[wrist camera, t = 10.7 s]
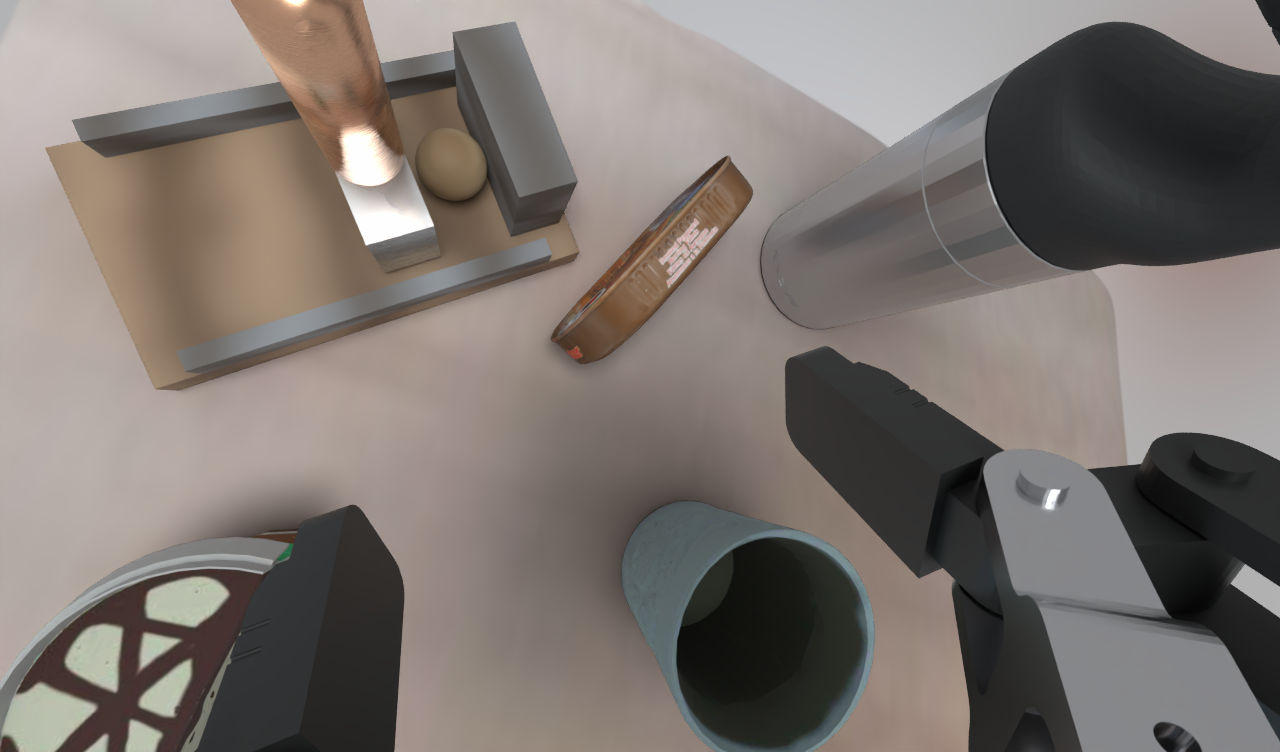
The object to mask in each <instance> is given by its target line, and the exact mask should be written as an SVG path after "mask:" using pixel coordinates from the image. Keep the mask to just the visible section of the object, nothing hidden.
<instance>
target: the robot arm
mask: <svg viewBox="0 0 1280 752" xmlns="http://www.w3.org/2000/svg"><path fill="white" fill-rule="evenodd" d="M1256 2H1257V4H1258V6H1259V8H1260V10H1261V12H1262V14H1263V16H1264V18H1265V19H1266V21H1267V23H1268V25H1269V26H1270V27H1272V32H1273V34H1274V36H1275V38H1276V39H1277V41H1278V43H1279V45H1280V0H1256ZM1279 248H1280V75H1279V76H1278V75H1270V74H1263V73H1257V72H1252V71H1246V70H1243V69H1239V68H1235V67H1232V66H1228V65H1225V64H1223V63H1220V62H1218V61H1215V60H1212V59H1210V58H1208V57H1205V56H1204V55H1201V54H1199V53H1197V52H1195V51H1193V50H1192V49H1190V48H1188V47H1186V46H1184V45H1182V44H1180V43H1178V42H1177V41H1175V40H1173V39H1171V38H1170V37H1168V36H1166V35H1164V34H1162V33H1160V32H1158V31H1156V30H1153V29H1151V28H1148V27H1145V26H1142V25H1138V24H1134V23H1128V22H1107V23H1101V24H1096V25H1092V26H1089V27H1087V28H1084V29H1081V30H1078V31H1076V32H1074V33H1072V34H1070V35H1068V36H1066V37H1065V38H1063V39H1061V40H1059V41H1057V42H1055V43H1054V44H1052V45H1051V46H1049V47H1048V48H1046V49H1045V50H1043V51H1041V52H1040V53H1038V54H1036V55H1035V56H1033V57H1032V58H1030V59H1028V60H1027V61H1025V62H1024V63H1022V64H1021V65H1019V66H1018V67H1016V68H1014V69H1013V70H1011V71H1009V72H1008V73H1006V74H1005V75H1003V76H1001V77H1000V78H998V79H997V80H995V81H993V82H992V83H990V84H989V85H987V86H986V87H984V88H982V89H981V90H979V91H978V92H976V93H974V94H973V95H971V96H970V97H968V98H966V99H965V100H963V101H962V102H960V103H959V104H957V105H955V106H954V107H953V108H951V109H950V110H948V111H946V112H945V113H943V114H942V115H940V116H938V117H937V118H935V119H934V120H932V121H931V122H929V123H928V124H926V125H924V126H923V127H921V128H919V129H918V130H916V131H915V132H913V133H911V134H910V135H908V136H907V137H905V138H903V139H902V140H901V141H899V142H897V143H896V144H894V145H892V146H891V147H889V148H888V149H886V150H884V151H883V152H881V153H880V154H878V155H876V156H875V157H873V158H872V159H870V160H868V161H867V162H865V163H864V164H862V165H861V166H859V167H857V168H856V169H854V170H853V171H851V172H849V173H848V174H846V175H845V176H843V177H841V178H840V179H838V180H837V181H835V182H833V183H832V184H830V185H829V186H827V187H826V188H824V189H822V190H821V191H819V192H817V193H816V194H814V195H812V196H811V197H809V198H808V199H806V200H805V201H803V202H802V203H800V204H798V205H797V206H795V207H794V208H792V209H791V210H789V211H788V212H786V213H784V214H783V215H781V216H780V217H779V218H778V219H777V220H776V221H775V222H774V223H773V224H772V226H771V228H770V230H769V231H768V233H767V235H766V238H765V241H764V244H763V247H762V256H761V266H762V275H763V279H764V282H765V286H766V288H767V290H768V293H769V295H770V297H771V299H772V300H773V302H774V303H775V304H776V306H777V307H778V308H779V310H780V311H781V312H782V313H784V314H785V315H786V316H787V317H788V318H789V319H791V320H792V321H794V322H796V323H798V324H799V325H802V326H805V327H808V328H813V329H826V328H832V327H837V326H841V325H846V324H850V323H855V322H859V321H865V320H869V319H874V318H878V317H883V316H887V315H892V314H896V313H901V312H905V311H910V310H914V309H919V308H923V307H928V306H932V305H937V304H941V303H946V302H950V301H955V300H959V299H964V298H968V297H973V296H977V295H982V294H986V293H991V292H995V291H1000V290H1004V289H1009V288H1013V287H1017V286H1021V285H1025V284H1030V283H1034V282H1039V281H1043V280H1047V279H1052V278H1056V277H1061V276H1065V275H1070V274H1074V273H1079V272H1083V271H1086V270H1092V269H1096V268H1101V267H1106V266H1111V265H1116V264H1133V265H1141V266H1170V265H1181V264H1190V263H1197V262H1202V261H1209V260H1215V259H1220V258H1226V257H1232V256H1237V255H1243V254H1248V253H1254V252H1260V251H1266V250H1272V249H1279ZM785 398H786V425H787V430H788V433H789V435H790V438H791V440H792V442H793V444H794V445H795V447H796V448H797V449H798V451H799V452H800V453H801V454H802V455H803V456H804V457H805V458H806V459H807V460H808V461H809V462H810V463H811V465H812V466H813V467H814V468H815V469H816V470H817V471H818V472H819V473H820V474H821V475H822V476H823V477H824V478H825V479H826V480H827V482H828V483H829V484H830V485H831V486H832V487H833V488H834V489H835V490H836V491H837V492H838V493H839V494H840V495H841V496H842V497H843V498H844V500H845V501H846V502H847V503H848V504H849V505H850V506H851V507H852V508H853V509H854V510H855V511H856V512H857V513H858V514H859V515H860V517H861V518H862V519H863V520H864V521H865V522H866V523H867V524H868V525H869V526H870V527H871V528H872V529H873V530H874V531H875V532H876V534H877V535H878V536H879V537H880V538H881V539H882V540H883V541H884V542H885V543H886V544H887V545H888V546H889V547H890V548H891V549H892V551H893V552H894V553H895V554H896V555H897V556H898V557H899V558H900V559H901V560H902V561H903V562H904V563H905V564H906V565H907V566H908V567H909V569H910V570H911V571H912V572H913V573H914V574H915V575H916V576H917V577H918V578H921V577H923V576H925V575H927V574H930V573H932V572H934V571H936V570H939V569H941V568H944V569H945V570H946V571H947V572H948V573H949V574H950V575H951V576H952V577H953V578H954V579H953V583H952V596H953V602H954V608H955V615H956V621H957V627H958V634H959V640H960V646H961V653H962V659H963V665H964V672H965V678H966V684H967V690H968V697H969V705H970V727H969V752H1280V618H1279V617H1277V616H1276V615H1274V614H1273V613H1272V612H1270V611H1269V610H1267V609H1266V608H1265V607H1263V606H1262V605H1260V604H1259V603H1257V602H1256V601H1254V600H1253V599H1252V598H1250V597H1249V596H1247V595H1246V594H1244V593H1243V592H1241V591H1240V590H1238V589H1237V588H1236V587H1234V586H1233V585H1231V584H1230V583H1231V582H1232V581H1233V579H1234V578H1235V577H1236V575H1237V574H1238V573H1239V571H1240V570H1241V569H1242V567H1243V566H1244V565H1245V564H1246V565H1248V566H1249V567H1251V568H1252V569H1254V570H1255V571H1257V572H1258V573H1260V574H1262V575H1263V576H1264V577H1266V578H1268V579H1269V580H1271V581H1272V582H1274V583H1275V584H1277V585H1278V586H1280V461H1279V460H1277V459H1275V458H1273V457H1271V456H1269V455H1267V454H1265V453H1263V452H1261V451H1259V450H1257V449H1255V448H1252V447H1250V446H1247V445H1245V444H1242V443H1240V442H1236V441H1233V440H1230V439H1226V438H1222V437H1218V436H1214V435H1208V434H1201V433H1173V434H1168V435H1164V436H1162V437H1159V438H1157V439H1156V440H1155V441H1154V442H1153V443H1152V444H1151V446H1150V448H1149V450H1148V452H1147V454H1146V456H1145V458H1144V460H1143V462H1142V464H1138V465H1127V466H1117V467H1106V468H1096V469H1085V468H1084V467H1082V466H1081V465H1079V464H1077V463H1075V462H1073V461H1071V460H1069V459H1067V458H1064V457H1062V456H1059V455H1056V454H1053V453H1049V452H1044V451H1040V450H1032V449H1012V450H1007V451H1005V450H1003V449H1001V448H1000V447H998V446H997V445H995V444H994V443H992V442H991V441H989V440H988V439H986V438H985V437H983V436H982V435H981V434H979V433H978V432H976V431H975V430H973V429H972V428H970V427H969V426H967V425H966V424H964V423H963V422H961V421H960V420H958V419H957V418H955V417H954V416H952V415H951V414H949V413H948V412H946V411H945V410H943V409H942V408H940V407H939V406H938V405H936V404H935V403H933V402H930V403H929V402H928V400H927V398H926V397H924V396H923V395H921V394H920V393H918V392H917V391H915V390H914V389H913V390H910V389H909V386H908V385H906V384H905V383H903V382H902V381H900V380H899V379H898V378H896V377H895V376H893V375H892V374H890V373H889V372H887V371H884V370H881V369H878V368H875V367H872V366H870V365H867V364H864V363H861V362H857V363H854V364H853V363H852V362H850V361H849V360H848V359H846V358H845V357H843V356H842V355H841V354H839V353H838V352H836V351H835V350H833V349H832V348H830V347H827V346H824V347H821V348H818V349H815V350H812V351H809V352H806V353H803V354H800V355H797V356H794V357H791V358H789V359H788V360H787V362H786V366H785ZM403 610H404V585H403V580H402V576H401V573H400V570H399V567H398V565H397V563H396V561H395V559H394V558H393V556H392V555H391V553H390V552H389V550H388V549H387V547H386V546H385V544H384V543H383V541H382V540H381V538H380V537H379V535H378V534H377V532H376V531H375V529H374V528H373V526H372V525H371V523H370V522H369V520H368V519H367V517H366V516H365V514H364V513H363V512H362V510H361V509H360V508H359V507H357V506H356V505H349V506H346V507H343V508H340V509H337V510H335V511H332V512H329V513H326V514H323V515H320V516H317V517H314V518H311V519H308V520H305V521H303V522H302V523H301V525H300V526H299V529H298V531H297V535H296V538H295V541H294V545H293V548H292V551H291V554H290V558H289V560H286V561H283V562H280V563H277V564H275V565H274V567H273V568H272V569H271V571H270V572H269V573H268V575H267V576H266V578H265V579H264V580H263V582H262V583H261V584H260V586H259V587H258V588H257V590H256V591H255V592H254V594H253V595H252V597H251V599H250V602H249V605H248V608H247V610H246V613H245V616H244V619H243V622H242V625H241V627H240V631H241V635H239V636H237V639H236V641H235V644H234V647H233V650H232V653H231V655H230V659H231V664H228V665H227V667H226V670H225V672H224V675H223V678H222V681H221V684H220V686H219V689H218V692H217V695H216V698H215V700H214V703H213V706H212V709H211V712H210V715H209V717H208V720H207V723H206V726H205V729H204V731H203V734H202V737H201V740H200V743H199V745H198V748H197V751H196V752H394V748H395V732H396V717H397V702H398V687H399V671H400V656H401V641H402V626H403Z"/></svg>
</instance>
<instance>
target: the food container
mask: <svg viewBox="0 0 1280 752" xmlns="http://www.w3.org/2000/svg"><path fill="white" fill-rule="evenodd" d="M297 531H298V529H296V530H275V531H268V532H265V533H262V534H259V535H256V536H253V537H249V538H244V537H229V538H215V539H204V540H199V541H195V542H190V543H185V544H180V545H175V546H172V547H169V548H166V549H164V550H161V551H158V552H155V553H152V554H149V555H146V556H144V557H142V558H140V559H138V560H135V561H133V562H131V563H129V564H127V565H125V566H123V567H121V568H119V569H117V570H115V571H114V572H112V573H111V574H109V575H108V576H106V577H105V578H103V579H101V580H100V581H98V582H97V583H95V584H94V585H92V586H91V587H89V588H88V589H87V590H85V591H84V592H83V593H82V594H81V595H80V596H79V597H77V598H76V599H75V600H74V601H73V602H72V603H70V604H69V605H68V606H67V607H66V608H65V609H64V610H62V611H61V612H60V613H59V614H58V615H57V616H56V617H54V618H53V619H52V620H51V621H50V622H49V623H48V624H46V625H45V626H44V627H43V628H42V629H41V630H40V631H39V632H38V633H37V634H36V635H35V637H34V638H33V639H32V640H31V641H30V642H29V643H28V645H27V646H26V647H25V648H24V649H23V650H22V651H21V652H20V654H19V655H18V656H17V658H16V659H15V661H14V662H13V664H12V665H11V667H10V668H9V670H8V671H7V673H6V675H5V676H4V678H3V679H2V681H1V682H0V752H196V751H197V748H198V745H199V743H200V740H201V737H202V734H203V731H204V729H205V726H206V723H207V720H208V717H209V715H210V712H211V709H212V706H213V703H214V700H215V698H216V695H217V692H218V689H219V686H220V684H221V681H222V678H223V675H224V672H225V670H226V667H227V665H228V664H231V659H230V655H231V653H232V650H233V647H234V644H235V641H236V639H237V636H239V635H241V631H240V627H241V625H242V622H243V619H244V616H245V613H246V610H247V608H248V605H249V602H250V599H251V597H252V595H253V594H254V592H255V591H256V590H257V588H258V587H259V586H260V584H261V583H262V582H263V580H264V579H265V578H266V576H267V575H268V573H269V572H270V571H271V569H272V568H273V567H274V565H275V564H277V563H280V562H283V561H286V560H289V558H290V554H291V551H292V548H293V545H294V541H295V538H296V535H297Z"/></svg>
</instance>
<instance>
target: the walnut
mask: <svg viewBox="0 0 1280 752" xmlns="http://www.w3.org/2000/svg"><path fill="white" fill-rule="evenodd" d="M415 165H416V170H417V173H418V175H419V177H420V180H421V181H422V183H423V184H424V185H425V186H426V188H427V189H428V190H429V191H431V192H432V193H433V194H435V195H436V196H438V197H440V198H443V199H446V200H450V201H462V200H466V199H468V198H470V197H472V196H474V195H475V194H477V193H478V192H479V191H480V189H481V188H482V186H483V185H484V183H485V180H486V176H487V161H486V157H485V155H484V152H483V150H482V148H481V147H480V145H479V144H478V143H477V142H476V141H475V140H474V139H473V138H472V137H471V136H470V135H468V134H467V133H465V132H463V131H461V130H458V129H454V128H439V129H436V130H433V131H431V132H430V133H428V134H427V135H426V136H424V138H423V139H422V140H421V141H420V143H419V145H418V147H417V150H416V154H415Z"/></svg>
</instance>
